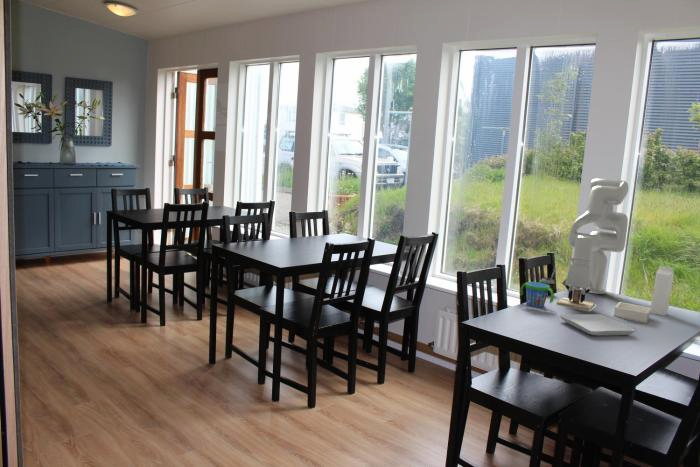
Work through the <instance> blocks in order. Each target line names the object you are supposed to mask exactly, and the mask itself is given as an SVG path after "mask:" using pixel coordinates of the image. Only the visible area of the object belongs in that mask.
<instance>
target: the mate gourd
mask: <svg viewBox="0 0 700 467" xmlns="http://www.w3.org/2000/svg"><path fill="white" fill-rule="evenodd" d="M559 266H560V265H559V264H558V265H557V266H555V268H554V269H553V270H552V271H553V272H552V274H551V277H550V278H549V277H548V278H547V277H542V278H541V280H540V282H539V283H544V284H547V285H549V286H550V288H551V289H552V291H553V293H554V291H555V289H556V288H555V286H556V282H555V279H553V277H554V274H555V272H556V271H557V268H559ZM547 295H550V296H551V292H550V291H549V290H548V294H547Z"/></svg>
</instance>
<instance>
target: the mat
mask: <svg viewBox="0 0 700 467" xmlns="http://www.w3.org/2000/svg"><path fill="white" fill-rule="evenodd" d="M559 300H560V299H558V300H557V301H559ZM557 301H555V303H553V305H556V306H561V307H565V308H571V309H575V310H580V311H585V312H592V311H593V310H594V309H595V308H596V307H597V304H594V306H593V307H592V308H591V309H590V310H589V311H587V310H582V309H577V308H573V307H568V306H563V305H558V304H556V303H557Z"/></svg>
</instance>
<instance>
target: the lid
mask: <svg viewBox="0 0 700 467" xmlns="http://www.w3.org/2000/svg"><path fill="white" fill-rule="evenodd" d="M581 294H582V290H580V288H573V296H572V300H569V298H568V296H563V297H561V298H560V299H558V300H559V301H558V300H557V301H556V302H557V303H556V302H555V303H556V304H558V305H557V306H560V305H563V306H562V307H565V306H568V307H567V308H570V307H573V308H572V309H574V308H577V309H576V310H579V309H582V310H581V311H584V310H587V311H586V312H589V310H590V309H591V308H592V307H593V306H594V305H596V303H595V302H593V301H587V300H584V301H583V302H582V303H581V302H580V300H581Z"/></svg>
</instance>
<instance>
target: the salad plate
mask: <svg viewBox="0 0 700 467" xmlns="http://www.w3.org/2000/svg"><path fill="white" fill-rule="evenodd" d="M559 317H560V318H561V319H562V321H563V322H565V323H567V324H569V325H571V326H572V327H574V328H575V329H578V330H579V331H582V332H584V333H586V334H588V335H590V334H591V335H590V336H595V335H596V336H626V335H632V334H634V333H635V332H636V331H637V330H636V329H634V328H632V327H630V326H629V325H626V324H625V323H622V322H619V321H617V320H616V319H613V318H610V317H609V316H606V315H604V314H601V313H600V314H595V313H594V314H590V313H589V314H587V313H586V314H585V313H584V314H583V313H582V314H559Z"/></svg>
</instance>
